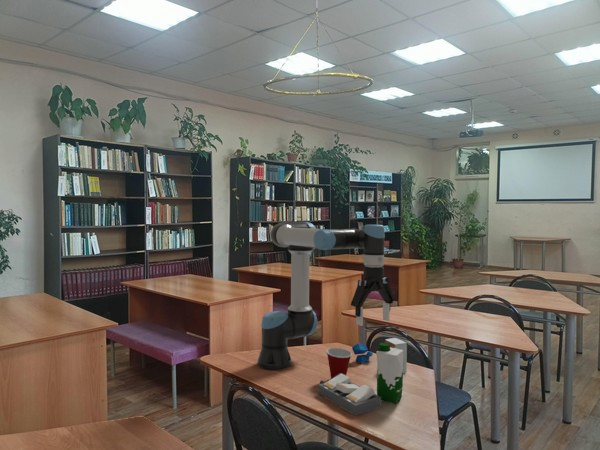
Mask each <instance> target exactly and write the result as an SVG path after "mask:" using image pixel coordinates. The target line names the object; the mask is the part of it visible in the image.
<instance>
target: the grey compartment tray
mask: <svg viewBox="0 0 600 450" xmlns="http://www.w3.org/2000/svg"><path fill="white" fill-rule="evenodd" d="M326 382H327V381H325V380H320V382H319V384H318V395H320V396H322V397H323V398H325V399H327V400H329V401H330V402H332V403H333V404H335V405H337V406H338V407H340V408H342V409H343V410H345V411H346V412H349V413H350V414H352V415H354V416H355V417H356V416H359V415H362V414H365V413H367V412H371V411H373V410H376V409H379V408H382V401H381V397H380V396H378V395H377V393H376V394H374V395H372V396H371V397H369V398H368V399H366V400H365V401H362V402H359V403H356V404H355V403H354V402H352V401H350V400H348V399H347V398H346V396H347V395H349V394H350V393H343V392H341V391H340V390H338V389H335V390H330V389H329V388H327V387H325V386H324V383H326ZM348 384H355V385H357V383H353V382H352V381H351V382H349V383H348ZM357 386H359V385H357ZM359 387H361V386H359Z"/></svg>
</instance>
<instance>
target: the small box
mask: <svg viewBox="0 0 600 450" xmlns="http://www.w3.org/2000/svg"><path fill="white" fill-rule="evenodd" d="M384 343H389V344H390V347H391V348H397V349H400V350H403V373H407V359H408V358H407V355H408V353H407V351H408V343H407V342H406V341H403V340H402V339H399V338H397V337H392V338H391V337H390V338H386V339H384Z"/></svg>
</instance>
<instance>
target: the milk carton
mask: <svg viewBox="0 0 600 450" xmlns="http://www.w3.org/2000/svg"><path fill="white" fill-rule="evenodd" d="M375 353H376V395H378V396H380V397H381V402H386V403H390V404H395V405H396V404H397V403H398V402H399V400H401V399H402V397H403V395H402V394H403V385H404V384H403V381H404V378H403V377H404V374H403V350H400V349H397V348H391V347H390V344H389V343H385V342H380V343H379V344H378V350H377V351H376V352H375Z"/></svg>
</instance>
